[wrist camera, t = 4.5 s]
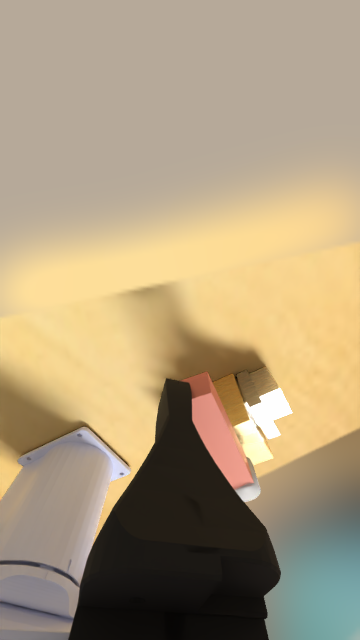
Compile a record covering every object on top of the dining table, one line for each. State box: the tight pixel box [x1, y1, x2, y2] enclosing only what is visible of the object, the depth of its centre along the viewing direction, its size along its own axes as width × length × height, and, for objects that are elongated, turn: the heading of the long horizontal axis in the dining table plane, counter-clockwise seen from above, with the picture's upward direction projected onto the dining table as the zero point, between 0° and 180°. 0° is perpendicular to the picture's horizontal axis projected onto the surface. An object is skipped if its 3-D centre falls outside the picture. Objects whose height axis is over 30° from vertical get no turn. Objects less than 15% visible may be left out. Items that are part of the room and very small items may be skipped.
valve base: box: [212, 366, 292, 465], centre depth 17 cm, size 10×4×6 cm, turn 120°
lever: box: [181, 372, 261, 502], centre depth 12 cm, size 9×2×2 cm, turn 23°
